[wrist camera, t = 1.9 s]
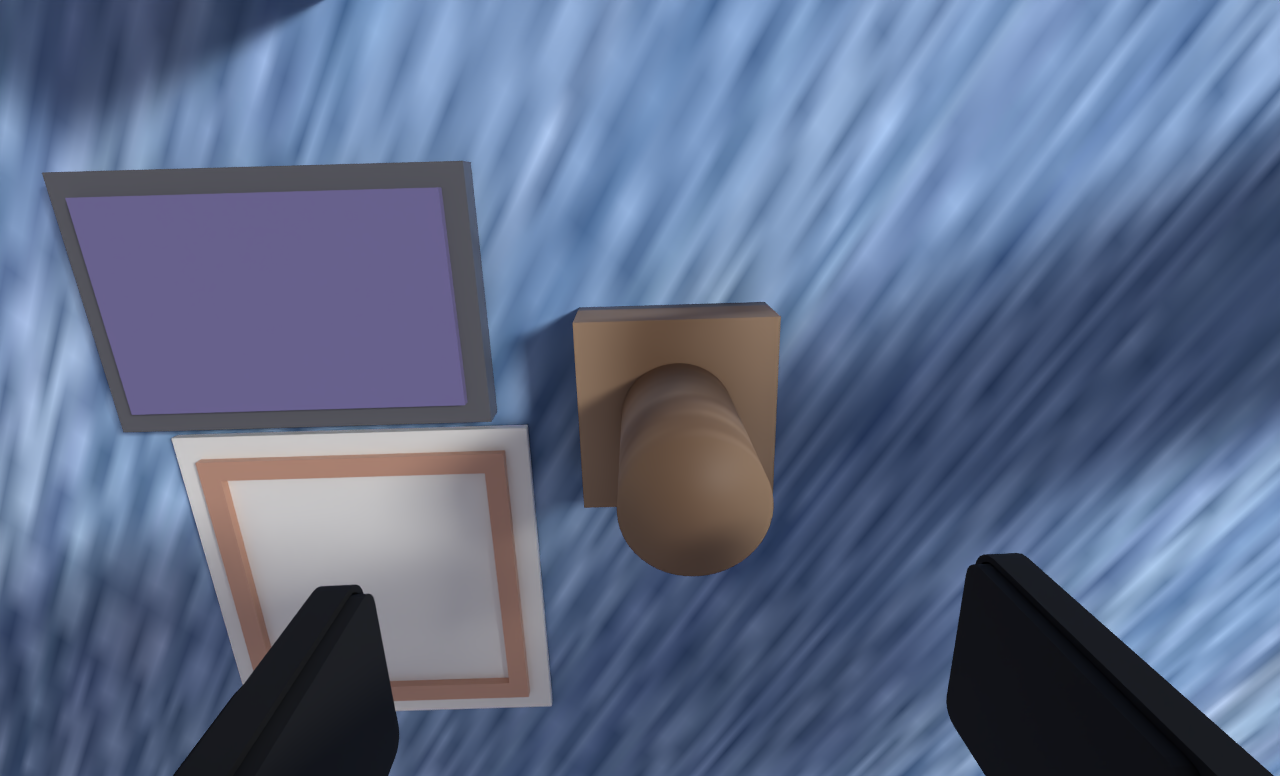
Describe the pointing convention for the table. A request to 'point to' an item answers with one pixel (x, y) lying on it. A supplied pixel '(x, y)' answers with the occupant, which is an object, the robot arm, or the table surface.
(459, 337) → the ink pad
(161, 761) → the table surface
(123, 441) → the table surface
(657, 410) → the stamp
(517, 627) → the cream card
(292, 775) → the robot arm
